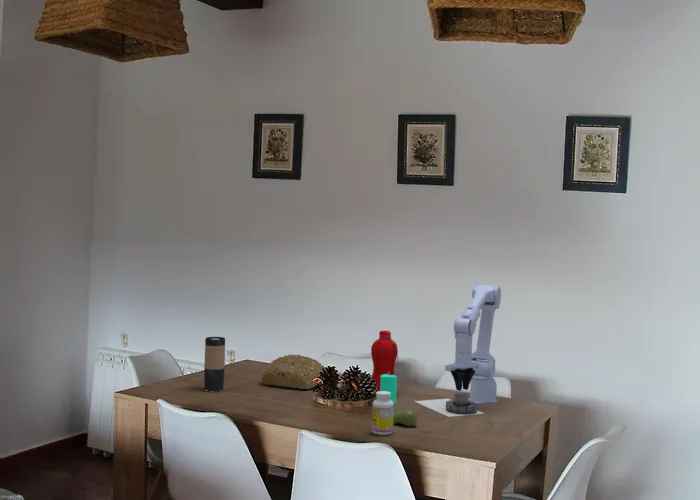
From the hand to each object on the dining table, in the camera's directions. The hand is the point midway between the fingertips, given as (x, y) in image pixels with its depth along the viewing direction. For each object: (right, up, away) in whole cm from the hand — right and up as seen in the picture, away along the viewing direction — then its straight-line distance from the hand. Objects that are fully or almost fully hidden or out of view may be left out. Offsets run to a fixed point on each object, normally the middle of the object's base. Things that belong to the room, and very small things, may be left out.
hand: (462, 389), depth 282 cm
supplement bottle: (-30, -8, -31) cm, 44 cm away
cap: (0, -7, 0) cm, 7 cm away
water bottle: (-27, -6, +21) cm, 35 cm away
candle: (-26, -7, +8) cm, 28 cm away
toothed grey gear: (0, -8, 0) cm, 8 cm away
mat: (-4, -8, +5) cm, 10 cm away
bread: (-62, -5, +37) cm, 72 cm away
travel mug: (-92, -4, +21) cm, 94 cm away
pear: (-23, -8, -20) cm, 31 cm away
